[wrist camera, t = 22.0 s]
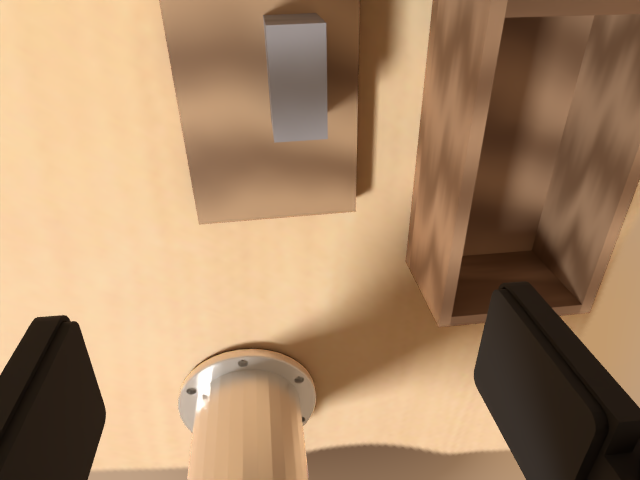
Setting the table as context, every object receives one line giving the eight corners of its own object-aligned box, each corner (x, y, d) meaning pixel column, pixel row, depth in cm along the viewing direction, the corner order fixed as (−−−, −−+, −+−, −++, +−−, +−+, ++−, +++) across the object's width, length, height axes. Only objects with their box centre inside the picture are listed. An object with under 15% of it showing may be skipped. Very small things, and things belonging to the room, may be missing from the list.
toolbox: (532, 251, 40) (632, 359, 30) (384, 263, 39) (434, 380, 29) (631, -117, 27) (872, -155, 17) (413, -118, 26) (525, -160, 15)
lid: (349, 197, 36) (367, 240, 31) (201, 209, 35) (193, 256, 30) (354, -139, 26) (382, -160, 20) (142, -137, 24) (114, -158, 19)
